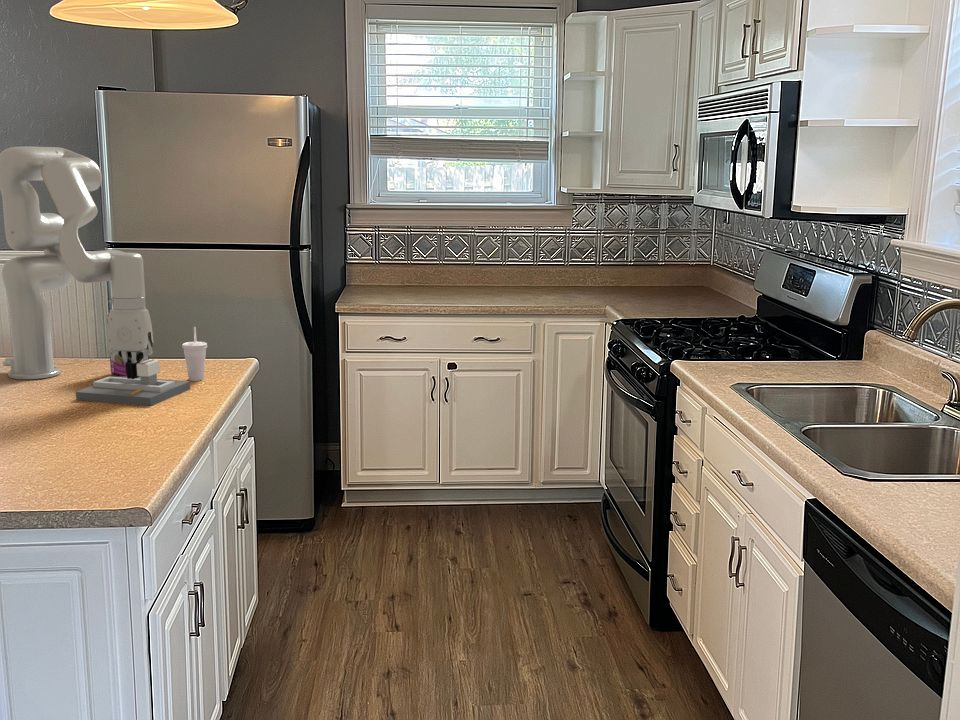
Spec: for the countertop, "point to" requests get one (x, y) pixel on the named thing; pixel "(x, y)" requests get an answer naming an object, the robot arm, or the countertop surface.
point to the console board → (131, 391)
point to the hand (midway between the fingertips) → (133, 377)
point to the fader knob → (148, 371)
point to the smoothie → (195, 358)
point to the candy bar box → (119, 362)
